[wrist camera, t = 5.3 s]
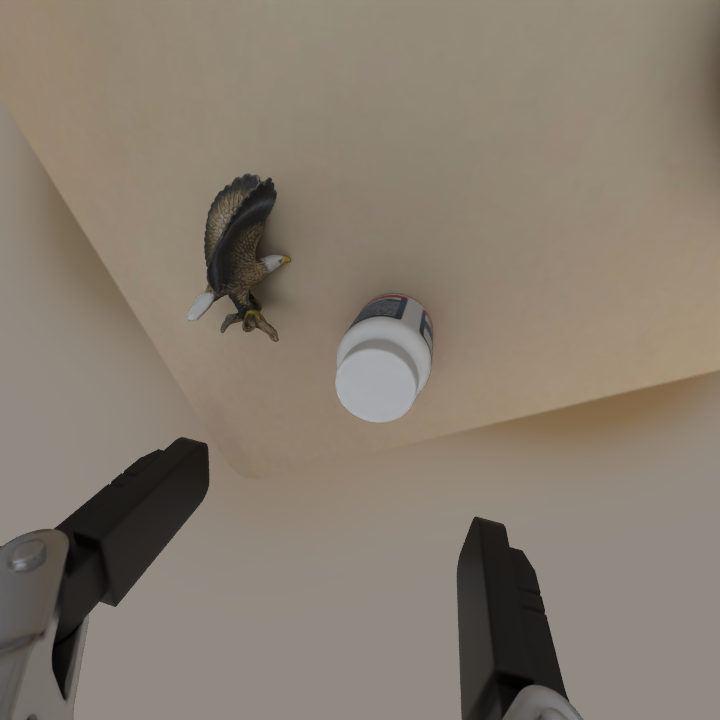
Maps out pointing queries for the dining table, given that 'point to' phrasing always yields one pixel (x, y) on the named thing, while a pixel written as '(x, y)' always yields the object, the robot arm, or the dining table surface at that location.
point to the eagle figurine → (238, 252)
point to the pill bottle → (385, 358)
